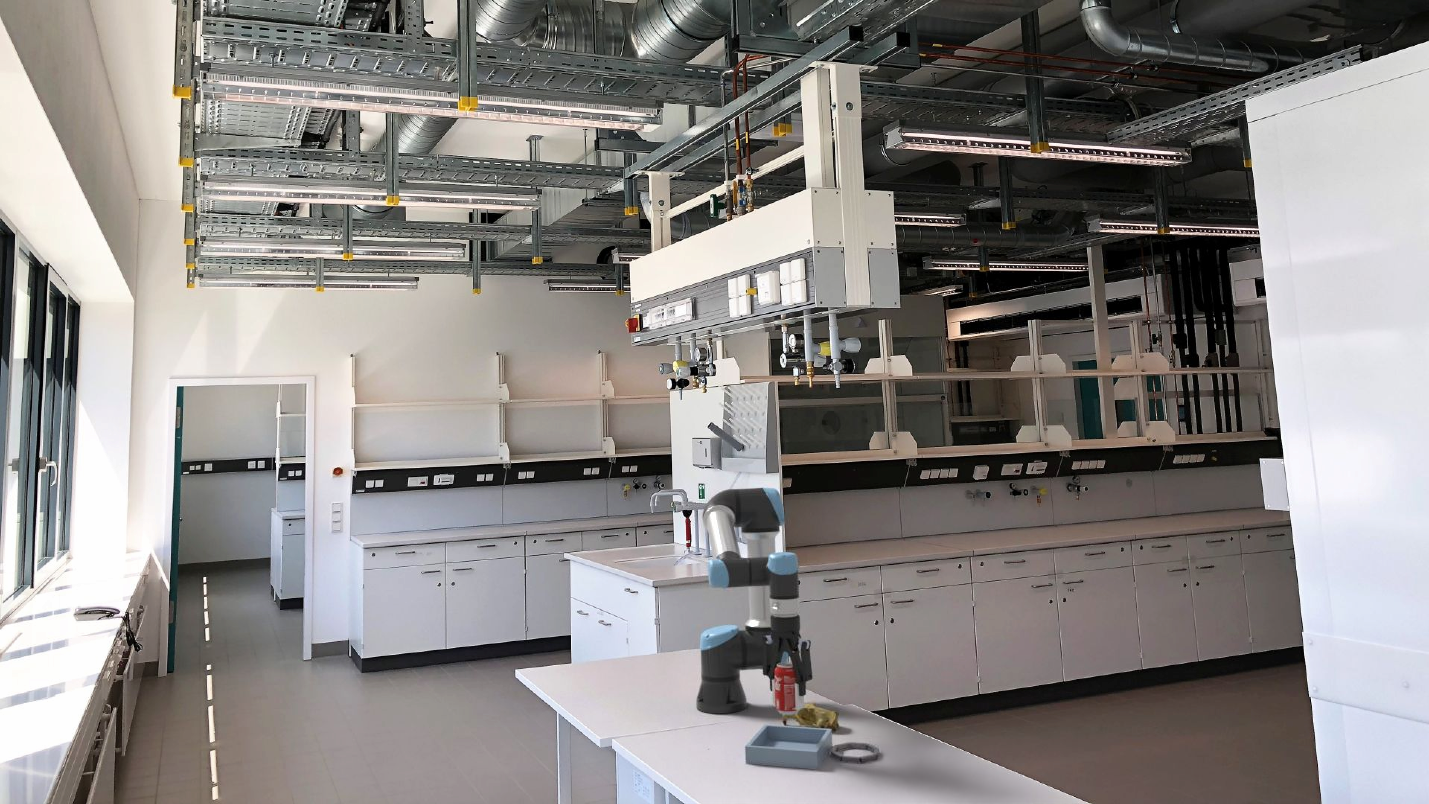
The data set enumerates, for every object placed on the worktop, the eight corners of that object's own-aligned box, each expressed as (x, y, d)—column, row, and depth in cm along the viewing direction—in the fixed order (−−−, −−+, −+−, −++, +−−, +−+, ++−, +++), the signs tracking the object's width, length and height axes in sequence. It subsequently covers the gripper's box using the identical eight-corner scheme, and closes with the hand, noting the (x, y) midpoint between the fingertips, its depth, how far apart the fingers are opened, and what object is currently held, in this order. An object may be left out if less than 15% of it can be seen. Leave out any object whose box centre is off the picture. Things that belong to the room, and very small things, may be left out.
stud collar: (836, 745, 239) (836, 741, 239) (881, 749, 236) (881, 744, 236) (827, 760, 229) (827, 755, 229) (874, 764, 225) (874, 759, 225)
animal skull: (780, 724, 259) (780, 700, 260) (835, 723, 260) (835, 699, 260) (785, 736, 249) (784, 711, 249) (842, 735, 250) (842, 710, 250)
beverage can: (785, 707, 239) (783, 660, 240) (805, 711, 235) (804, 663, 236) (771, 713, 234) (769, 665, 235) (791, 717, 230) (789, 668, 231)
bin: (765, 740, 246) (764, 724, 246) (832, 745, 240) (831, 729, 240) (745, 763, 229) (745, 746, 229) (817, 769, 223) (816, 751, 223)
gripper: (745, 613, 239) (749, 704, 238) (808, 620, 227) (812, 716, 226) (762, 608, 245) (766, 697, 244) (825, 615, 233) (828, 708, 232)
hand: (788, 706), depth 235 cm, fingers closed on beverage can, 6 cm apart
